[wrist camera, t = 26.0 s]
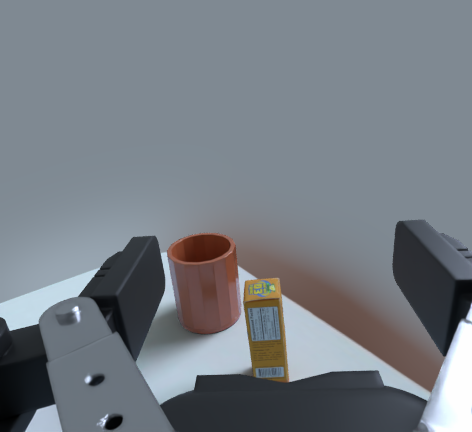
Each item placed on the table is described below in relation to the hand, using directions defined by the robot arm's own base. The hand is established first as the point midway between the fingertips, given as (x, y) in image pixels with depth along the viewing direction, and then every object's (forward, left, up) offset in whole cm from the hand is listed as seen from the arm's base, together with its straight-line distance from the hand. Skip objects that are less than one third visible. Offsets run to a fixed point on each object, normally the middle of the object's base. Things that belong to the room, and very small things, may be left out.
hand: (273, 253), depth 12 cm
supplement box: (+8, -13, -22) cm, 26 cm away
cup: (+19, -18, -21) cm, 34 cm away
